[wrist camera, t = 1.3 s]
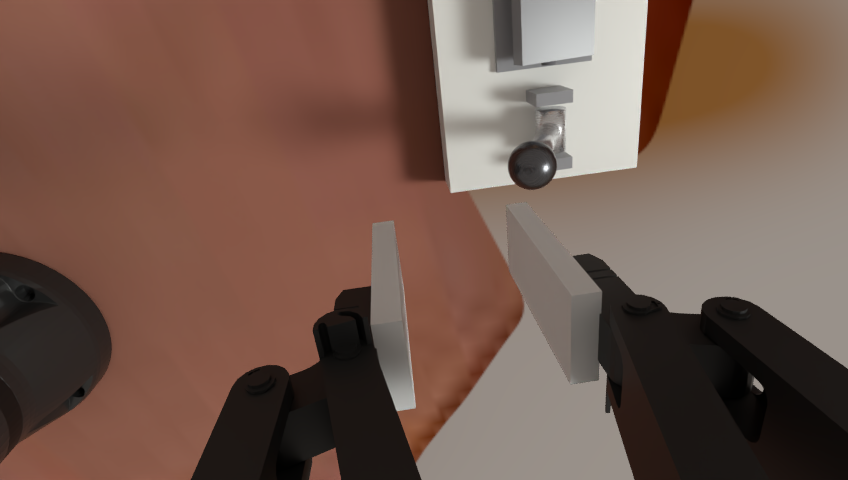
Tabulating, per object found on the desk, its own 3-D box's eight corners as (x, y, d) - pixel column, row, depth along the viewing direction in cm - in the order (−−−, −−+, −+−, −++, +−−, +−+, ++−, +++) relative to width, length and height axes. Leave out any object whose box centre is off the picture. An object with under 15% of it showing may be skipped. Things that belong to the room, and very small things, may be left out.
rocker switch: (510, 69, 31) (522, 71, 30) (506, -29, 29) (519, -33, 28) (578, 58, 33) (593, 59, 31) (580, -37, 30) (596, -41, 29)
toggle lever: (533, 146, 35) (504, 198, 26) (532, 107, 34) (502, 146, 25) (571, 145, 34) (554, 198, 25) (571, 105, 33) (554, 145, 24)
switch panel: (445, 180, 39) (455, 203, 34) (410, -166, 30) (417, -204, 25) (618, 157, 39) (653, 176, 34) (636, -191, 30) (686, -234, 25)
